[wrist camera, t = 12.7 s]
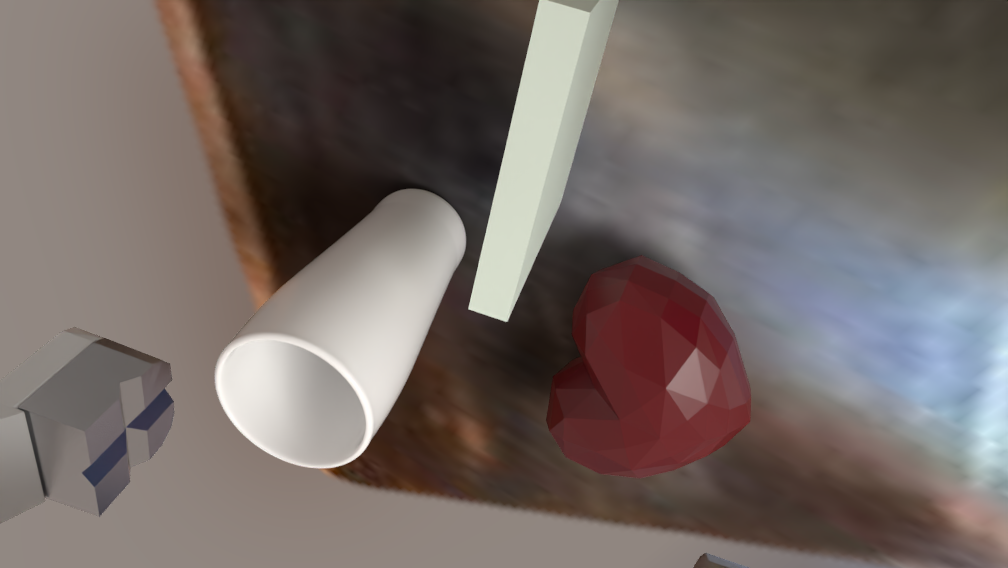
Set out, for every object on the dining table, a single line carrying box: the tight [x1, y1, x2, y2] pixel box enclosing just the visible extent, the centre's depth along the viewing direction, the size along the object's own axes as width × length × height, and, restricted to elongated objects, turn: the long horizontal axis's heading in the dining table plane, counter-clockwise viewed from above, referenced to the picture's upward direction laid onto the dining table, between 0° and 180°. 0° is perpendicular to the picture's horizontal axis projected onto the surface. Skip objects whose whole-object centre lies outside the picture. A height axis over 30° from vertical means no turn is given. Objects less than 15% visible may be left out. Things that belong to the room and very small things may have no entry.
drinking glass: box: [214, 189, 466, 468], centre depth 35 cm, size 7×7×15 cm
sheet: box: [468, 0, 619, 322], centre depth 31 cm, size 12×2×11 cm, turn 167°
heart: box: [546, 255, 751, 478], centre depth 38 cm, size 12×8×10 cm
